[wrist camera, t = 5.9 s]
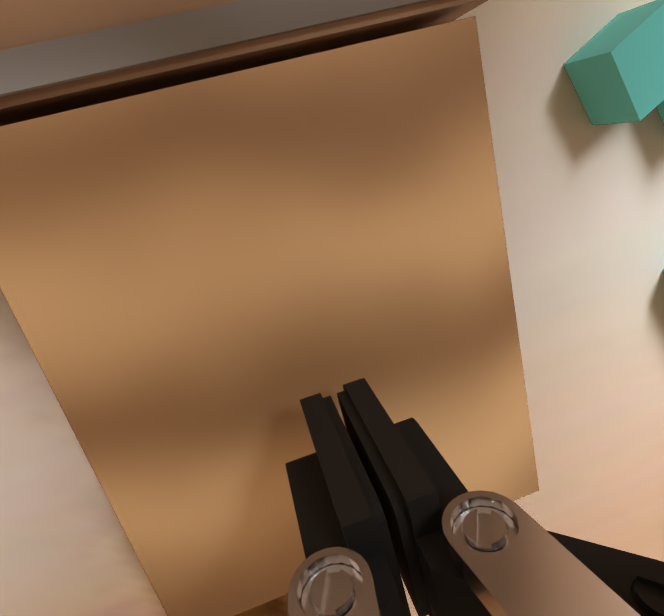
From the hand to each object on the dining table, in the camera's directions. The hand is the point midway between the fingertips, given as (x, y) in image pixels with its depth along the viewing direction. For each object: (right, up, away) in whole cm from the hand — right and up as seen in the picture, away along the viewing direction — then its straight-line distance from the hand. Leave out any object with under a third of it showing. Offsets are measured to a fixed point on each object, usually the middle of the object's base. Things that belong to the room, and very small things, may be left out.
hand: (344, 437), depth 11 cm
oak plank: (-1, +2, +3) cm, 4 cm away
